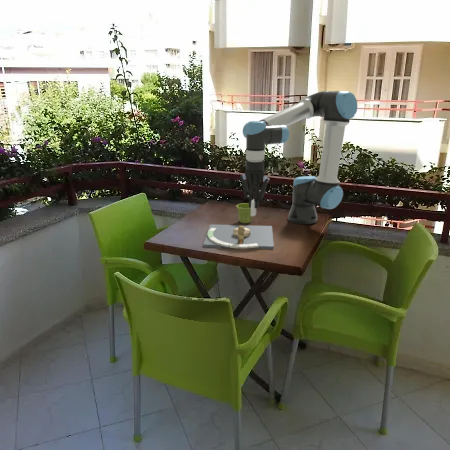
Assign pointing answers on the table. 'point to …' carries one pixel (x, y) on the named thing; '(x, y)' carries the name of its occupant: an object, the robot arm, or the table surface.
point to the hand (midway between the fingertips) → (253, 215)
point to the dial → (241, 233)
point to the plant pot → (244, 213)
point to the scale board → (224, 237)
